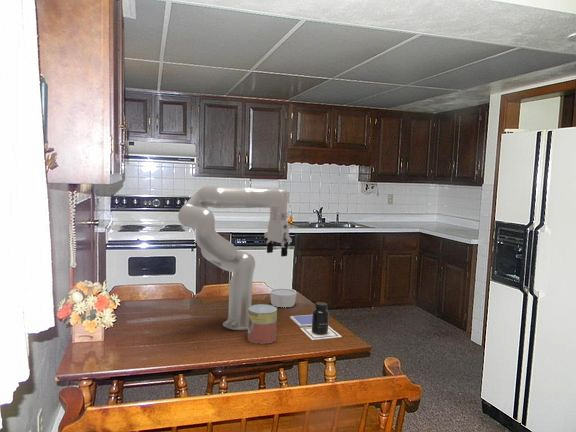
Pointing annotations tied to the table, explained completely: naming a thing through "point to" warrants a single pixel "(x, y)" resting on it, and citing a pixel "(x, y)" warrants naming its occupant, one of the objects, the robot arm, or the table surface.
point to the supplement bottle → (320, 319)
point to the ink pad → (302, 320)
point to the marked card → (314, 336)
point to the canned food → (262, 323)
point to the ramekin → (283, 297)
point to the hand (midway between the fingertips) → (276, 254)
